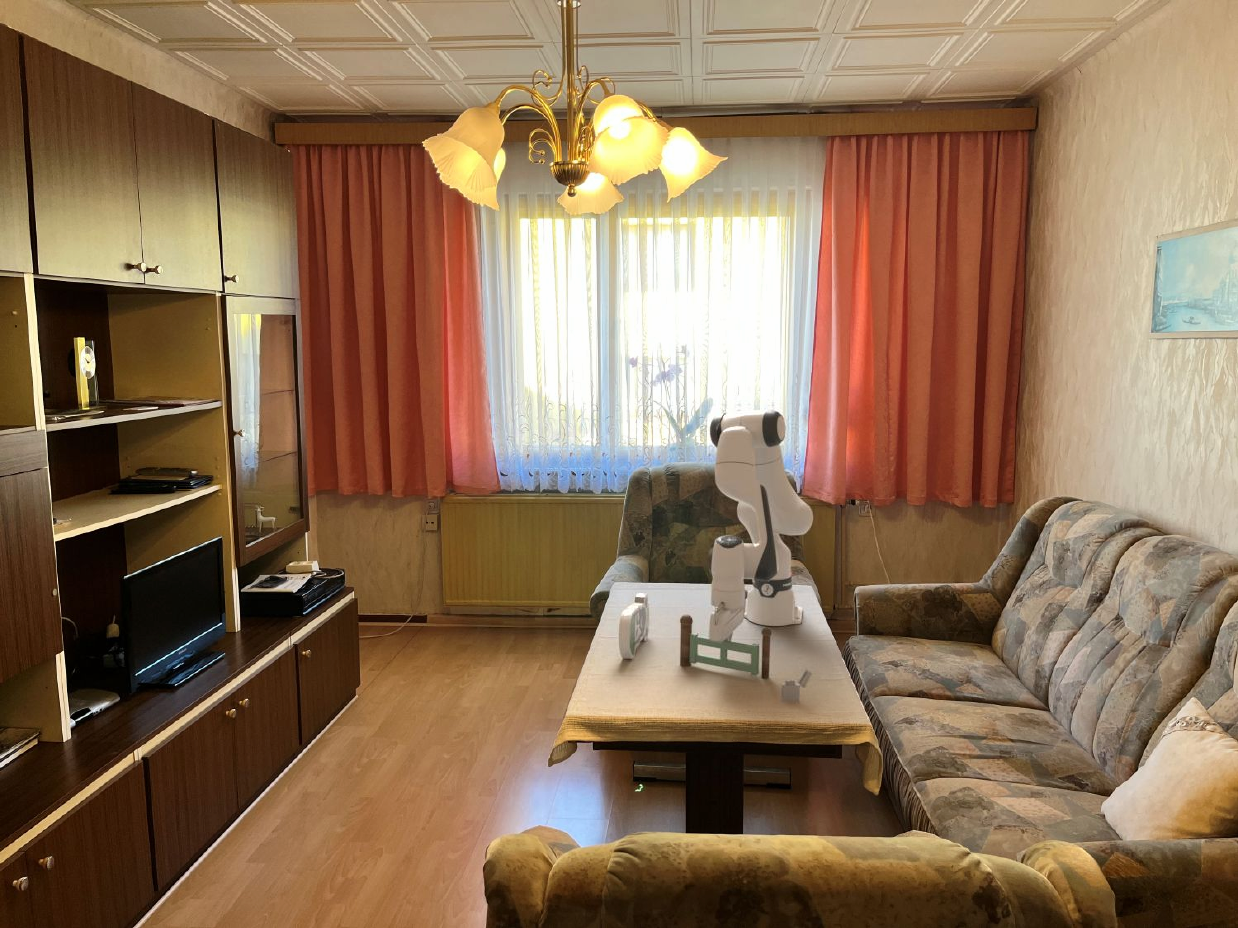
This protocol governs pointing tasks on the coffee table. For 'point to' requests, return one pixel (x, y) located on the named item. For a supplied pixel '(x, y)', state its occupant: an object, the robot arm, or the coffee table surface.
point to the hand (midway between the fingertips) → (726, 648)
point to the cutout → (634, 626)
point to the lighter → (794, 688)
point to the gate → (724, 654)
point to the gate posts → (685, 645)
